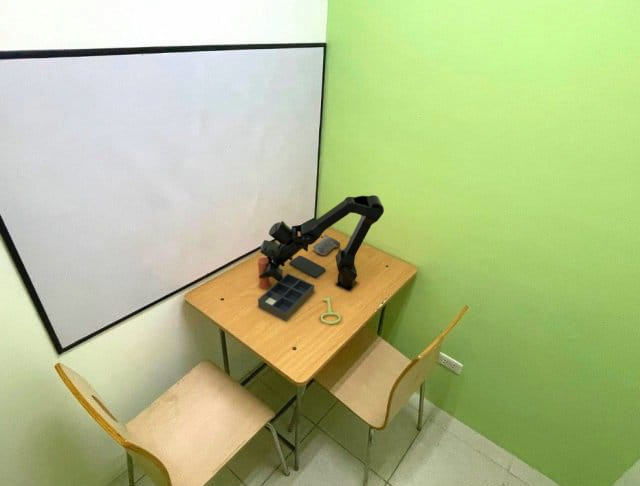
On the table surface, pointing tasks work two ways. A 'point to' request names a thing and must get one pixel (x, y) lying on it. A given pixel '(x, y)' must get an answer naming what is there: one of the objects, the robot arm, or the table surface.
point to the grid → (286, 296)
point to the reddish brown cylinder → (262, 266)
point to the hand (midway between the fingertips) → (260, 272)
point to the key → (329, 313)
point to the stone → (326, 245)
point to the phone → (307, 266)
